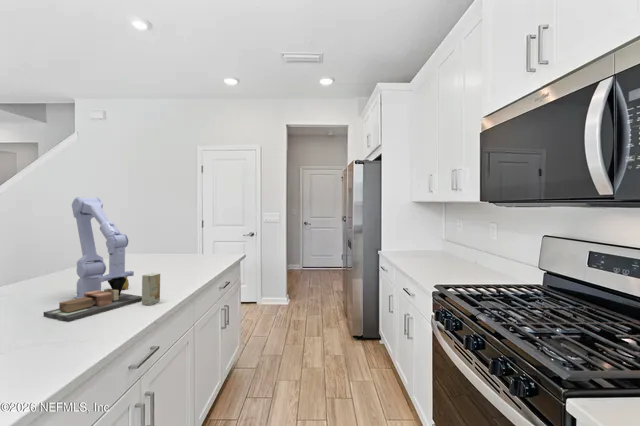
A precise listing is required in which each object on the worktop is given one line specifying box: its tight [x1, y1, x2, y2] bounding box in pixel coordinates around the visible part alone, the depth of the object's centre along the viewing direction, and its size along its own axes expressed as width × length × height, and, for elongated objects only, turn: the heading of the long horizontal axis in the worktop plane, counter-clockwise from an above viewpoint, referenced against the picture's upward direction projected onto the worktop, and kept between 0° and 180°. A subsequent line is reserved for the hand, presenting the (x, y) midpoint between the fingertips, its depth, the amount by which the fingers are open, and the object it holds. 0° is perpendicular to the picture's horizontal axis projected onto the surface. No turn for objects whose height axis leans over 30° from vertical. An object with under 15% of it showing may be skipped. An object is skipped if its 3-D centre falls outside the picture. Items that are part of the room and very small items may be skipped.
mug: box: [121, 277, 129, 291], centre depth 173 cm, size 12×7×7 cm, turn 29°
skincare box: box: [141, 272, 161, 306], centre depth 147 cm, size 6×4×12 cm
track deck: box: [43, 290, 142, 323], centre depth 140 cm, size 14×32×6 cm, turn 157°
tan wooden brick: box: [58, 288, 119, 312], centre depth 137 cm, size 6×20×4 cm, turn 157°
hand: (116, 295), depth 147 cm, fingers closed
